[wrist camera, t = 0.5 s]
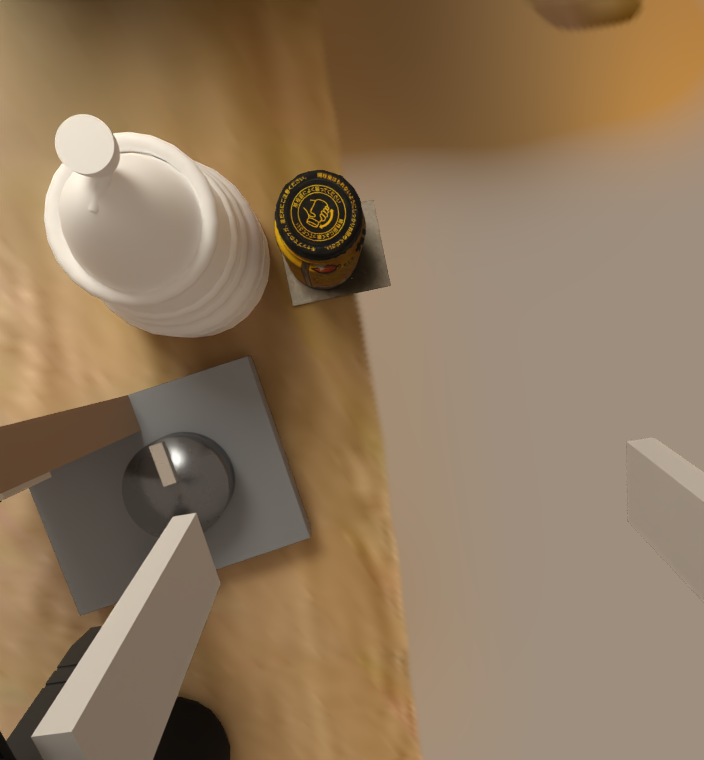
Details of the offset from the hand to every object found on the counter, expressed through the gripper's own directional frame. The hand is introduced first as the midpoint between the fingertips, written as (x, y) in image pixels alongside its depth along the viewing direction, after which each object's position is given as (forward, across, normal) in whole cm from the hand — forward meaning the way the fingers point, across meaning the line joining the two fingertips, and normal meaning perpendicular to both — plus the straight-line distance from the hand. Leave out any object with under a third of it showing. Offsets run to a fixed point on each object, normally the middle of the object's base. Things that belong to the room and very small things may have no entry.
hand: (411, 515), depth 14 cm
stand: (+23, -20, -9) cm, 31 cm away
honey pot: (+28, -14, +9) cm, 32 cm away
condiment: (+28, -2, +7) cm, 29 cm away
